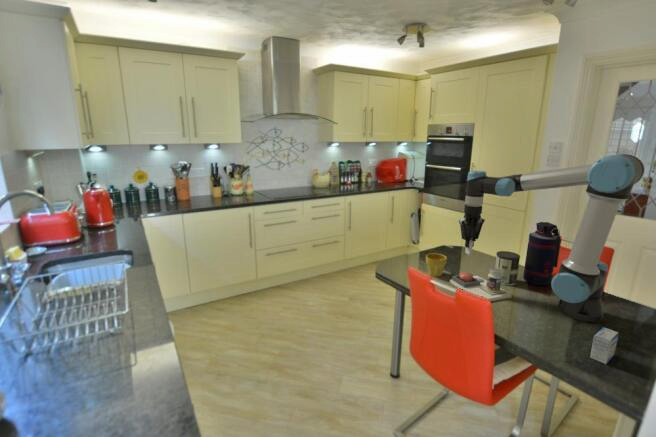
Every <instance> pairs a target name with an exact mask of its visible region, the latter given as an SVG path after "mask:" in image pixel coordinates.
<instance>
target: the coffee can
mask: <svg viewBox="0 0 656 437" xmlns="http://www.w3.org/2000/svg"><path fill="white" fill-rule="evenodd" d="M520 258H521V255H520V254H518V253H516V252H513V251H506V250H505V251H504V250H499V251H496V258H495V265H494V266H495V267H494V268H497V269H500V270H501V274H500V275H501V277H502V278H501V285H502V286H503V285H504V286H515V285H516V284H517V279H518V271H519V266H520Z"/></svg>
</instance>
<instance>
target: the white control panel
mask: <svg viewBox="0 0 656 437" xmlns="http://www.w3.org/2000/svg"><path fill="white" fill-rule="evenodd" d="M459 276H460V274H457V275H456V274H455V275H452V276H451V279H449V283H450V284H451V285H453V286H455V287H456V288H458V289H459V288H461V289H463V290H465V291H468V292H471V293H473V294H476V295H479V296H483V297H485V298H487V299H489V300H490V302H495V301H500V300H506V299H511V298H512V297H513V296H512V295H513V294H511V292H510V293H509V292H508V291H507V290H505V289H503V288H501V287H500V291H499V292H490V291H488V290H487V289H486V285H487V279H484V278H482V277H480V276H479V275H473V281H471V282H463V281H462V280H460V279H459ZM461 289H460V290H461ZM463 290H462V291H463Z"/></svg>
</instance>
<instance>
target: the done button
mask: <svg viewBox="0 0 656 437" xmlns="http://www.w3.org/2000/svg"><path fill="white" fill-rule="evenodd" d="M459 275H460V276H459V279H460V280H462V281H463V282H471V281H473V276H474V274H472V273H470V272H465V271H464V272H463V271H462V272H459Z"/></svg>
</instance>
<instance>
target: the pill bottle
mask: <svg viewBox="0 0 656 437" xmlns="http://www.w3.org/2000/svg"><path fill="white" fill-rule="evenodd" d="M500 274H501V270H500V269H497V268H495V267H491V268H489V273H488V274H487V279H486V281H487V285H486V289H487V290H488V291H490V292H499V291H500V288H501V285H502V284H501V278H502V277H501V275H500Z"/></svg>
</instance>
